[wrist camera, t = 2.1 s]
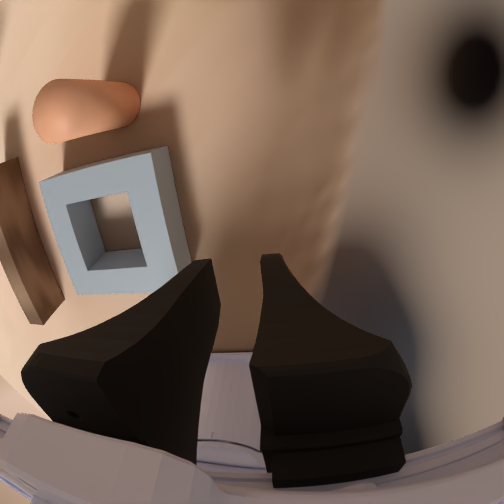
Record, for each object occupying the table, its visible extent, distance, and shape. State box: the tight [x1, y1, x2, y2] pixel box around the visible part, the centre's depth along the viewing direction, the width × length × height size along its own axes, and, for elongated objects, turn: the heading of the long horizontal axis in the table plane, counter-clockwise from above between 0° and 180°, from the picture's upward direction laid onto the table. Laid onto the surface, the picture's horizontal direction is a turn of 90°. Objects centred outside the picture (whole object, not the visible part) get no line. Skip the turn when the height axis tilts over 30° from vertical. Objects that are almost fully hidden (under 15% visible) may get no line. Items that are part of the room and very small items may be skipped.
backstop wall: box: [0, 157, 65, 325], centre depth 20 cm, size 14×2×4 cm, turn 7°
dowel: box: [32, 79, 140, 144], centre depth 14 cm, size 3×3×7 cm
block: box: [39, 146, 192, 295], centre depth 19 cm, size 9×9×3 cm
